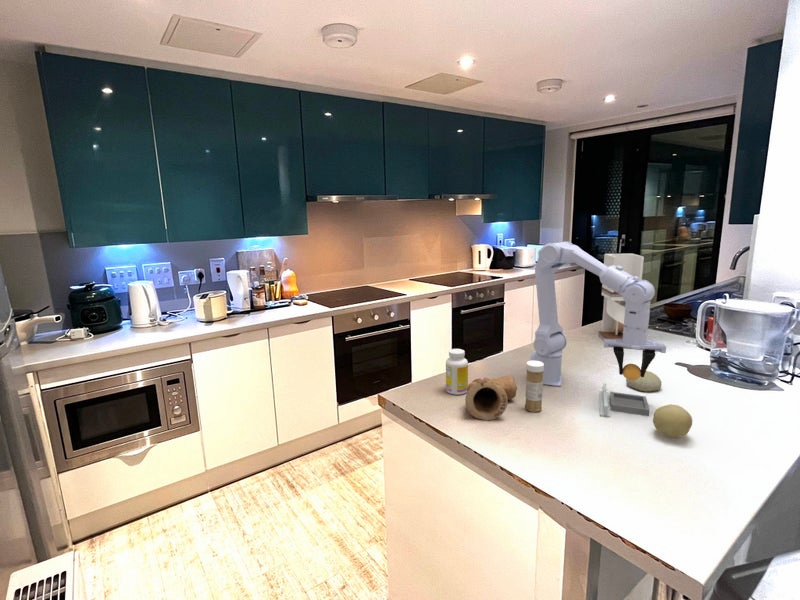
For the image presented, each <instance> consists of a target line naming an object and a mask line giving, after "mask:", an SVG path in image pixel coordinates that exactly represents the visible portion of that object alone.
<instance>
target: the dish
mask: <svg viewBox="0 0 800 600" xmlns="http://www.w3.org/2000/svg"><path fill="white" fill-rule="evenodd" d="M609 405H611V406H610V411H613V412H618V413H619V412H620V413H626V414H633V415H634V414H635V415H639V414H640V415H639V416H645V415H646V417H650V412H651V411H650V407H649V403H648V398H647V397H646V395H641V394H640V395H639V394H632V393H631V394H630V393H623V392H616V391H609Z"/></svg>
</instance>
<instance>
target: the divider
mask: <svg viewBox="0 0 800 600" xmlns="http://www.w3.org/2000/svg"><path fill="white" fill-rule="evenodd" d="M598 396H599V416H600V417H604V418H611V406H610V393H609V392H608V391H607V384H606V383H605V382H604V383H602V391H601V390H599V395H598Z"/></svg>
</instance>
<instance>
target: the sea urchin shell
mask: <svg viewBox="0 0 800 600" xmlns="http://www.w3.org/2000/svg"><path fill="white" fill-rule="evenodd" d="M625 381H626V384H627V385H628V386H629V387H630V388H633V389H635V390H638V391H640V392H655V391H659V390H660V389H661V388H662V383H663V382H662V380H661V378H660V377H659V376H658V375H657V374H655V373H653V372H652V371H649V370H646V372H645V375H644V377H641V376H640V377H639V378H638V379H637V380H633V381H632V380H628V379H626V378H625Z"/></svg>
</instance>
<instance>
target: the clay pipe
mask: <svg viewBox="0 0 800 600" xmlns="http://www.w3.org/2000/svg"><path fill="white" fill-rule="evenodd" d="M517 390H518V387H517V385H516V381H515V378H514V377H513V376H511V375H505V376H501V377H499V378H489V377H483V378H481V377H479V378H476V379H473V380H472V382H470V383H468V387H467V392H466V393H465V405H466V409H467V410H468V412H469V414H470V415H471V416H473V417H474V418H476V419H479V420H483V421H491V420H495V419H497V418H498V417H500V416H502V414H503V413H504V412H505V411H506V409H507V408H508V400H509V401H510V400H513V399H514V398H515V397H516V396H517Z"/></svg>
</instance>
